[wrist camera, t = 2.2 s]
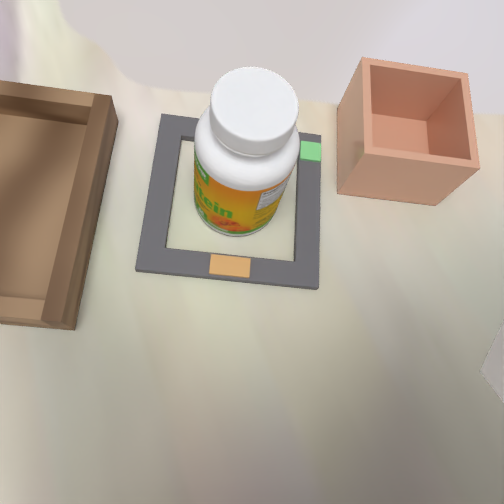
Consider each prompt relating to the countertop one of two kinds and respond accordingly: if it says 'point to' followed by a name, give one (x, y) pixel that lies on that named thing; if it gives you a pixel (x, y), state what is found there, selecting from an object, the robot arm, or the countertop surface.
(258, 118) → the supplement bottle
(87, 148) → the brown rectangular tray
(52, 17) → the countertop surface
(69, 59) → the countertop surface
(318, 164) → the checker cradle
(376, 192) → the pink open box
